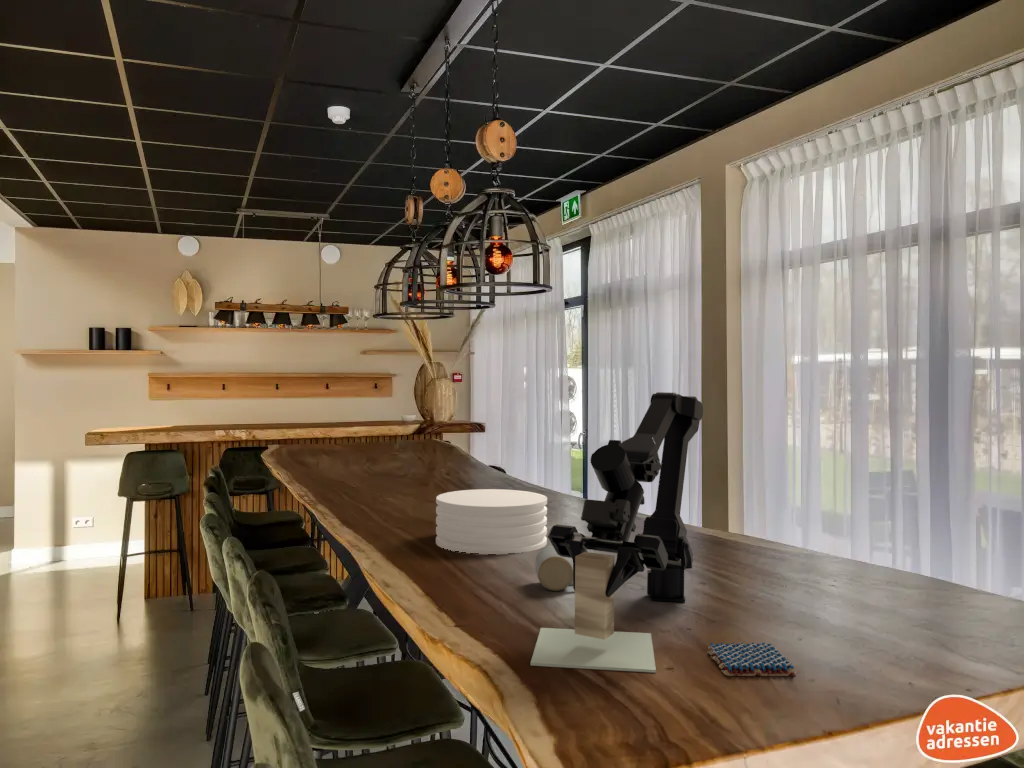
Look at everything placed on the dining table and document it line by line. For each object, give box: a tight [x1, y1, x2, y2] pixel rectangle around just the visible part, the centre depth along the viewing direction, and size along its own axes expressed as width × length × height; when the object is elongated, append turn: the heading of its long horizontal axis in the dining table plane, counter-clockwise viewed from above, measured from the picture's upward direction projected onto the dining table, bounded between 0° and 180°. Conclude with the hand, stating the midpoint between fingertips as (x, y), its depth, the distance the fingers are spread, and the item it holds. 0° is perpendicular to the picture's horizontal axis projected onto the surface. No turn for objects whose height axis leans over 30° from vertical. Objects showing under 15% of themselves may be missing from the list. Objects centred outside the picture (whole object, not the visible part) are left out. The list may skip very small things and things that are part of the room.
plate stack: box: [435, 488, 548, 555], centre depth 199 cm, size 28×28×12 cm
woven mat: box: [706, 642, 797, 677], centre depth 116 cm, size 10×11×2 cm
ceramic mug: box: [534, 544, 573, 592], centre depth 157 cm, size 11×8×8 cm
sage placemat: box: [529, 627, 657, 674], centre depth 121 cm, size 18×16×1 cm
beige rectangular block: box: [574, 551, 615, 640], centre depth 121 cm, size 4×5×12 cm
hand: (590, 592), depth 120 cm, fingers closed on beige rectangular block, 5 cm apart
